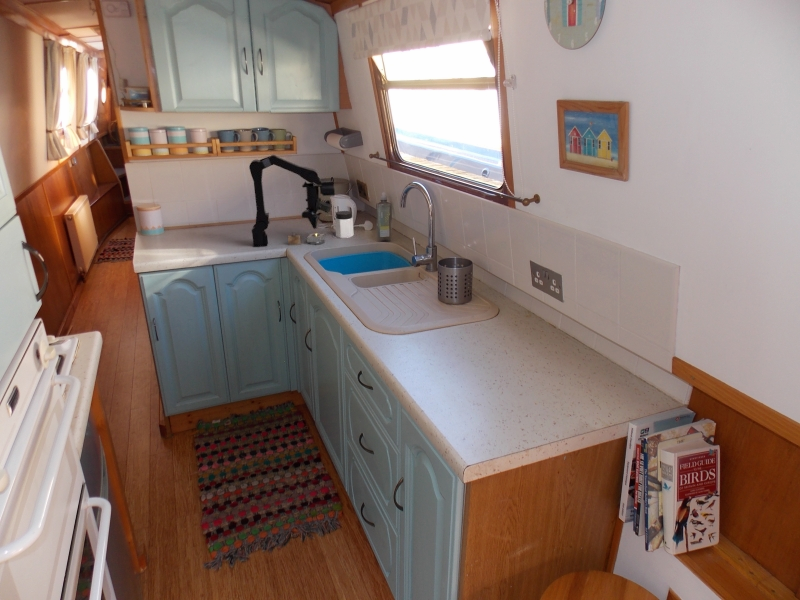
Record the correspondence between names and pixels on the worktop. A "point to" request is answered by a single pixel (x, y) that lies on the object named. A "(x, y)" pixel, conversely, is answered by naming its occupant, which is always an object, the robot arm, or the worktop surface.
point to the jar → (344, 224)
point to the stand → (294, 239)
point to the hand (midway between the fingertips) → (314, 228)
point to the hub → (316, 242)
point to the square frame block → (315, 238)
